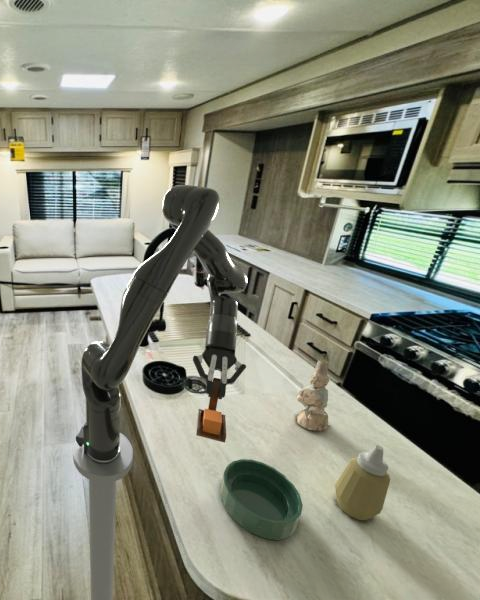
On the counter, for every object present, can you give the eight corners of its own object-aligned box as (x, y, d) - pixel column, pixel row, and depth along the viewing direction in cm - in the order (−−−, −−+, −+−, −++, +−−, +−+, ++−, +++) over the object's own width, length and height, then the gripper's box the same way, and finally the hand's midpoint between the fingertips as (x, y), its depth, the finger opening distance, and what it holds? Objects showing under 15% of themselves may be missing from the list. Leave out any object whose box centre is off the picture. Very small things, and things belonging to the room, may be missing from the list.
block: (202, 420, 82) (204, 408, 80) (219, 424, 80) (221, 412, 79) (202, 431, 78) (204, 418, 77) (219, 435, 77) (221, 423, 76)
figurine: (306, 409, 99) (323, 356, 92) (334, 428, 92) (355, 371, 84) (286, 417, 96) (302, 362, 89) (314, 437, 89) (334, 379, 81)
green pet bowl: (221, 524, 67) (224, 507, 65) (220, 467, 80) (223, 451, 78) (303, 553, 62) (310, 535, 60) (288, 487, 75) (293, 470, 73)
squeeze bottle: (325, 486, 75) (347, 428, 68) (367, 497, 72) (394, 438, 66) (337, 518, 68) (363, 457, 61) (384, 532, 65) (416, 470, 59)
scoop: (197, 411, 86) (203, 375, 81) (223, 417, 83) (231, 380, 79) (196, 435, 78) (202, 396, 74) (225, 442, 76) (233, 403, 71)
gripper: (195, 325, 84) (187, 389, 78) (252, 333, 80) (248, 402, 74) (194, 334, 91) (186, 393, 85) (246, 342, 86) (242, 406, 80)
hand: (215, 397), depth 79 cm, fingers closed on scoop
